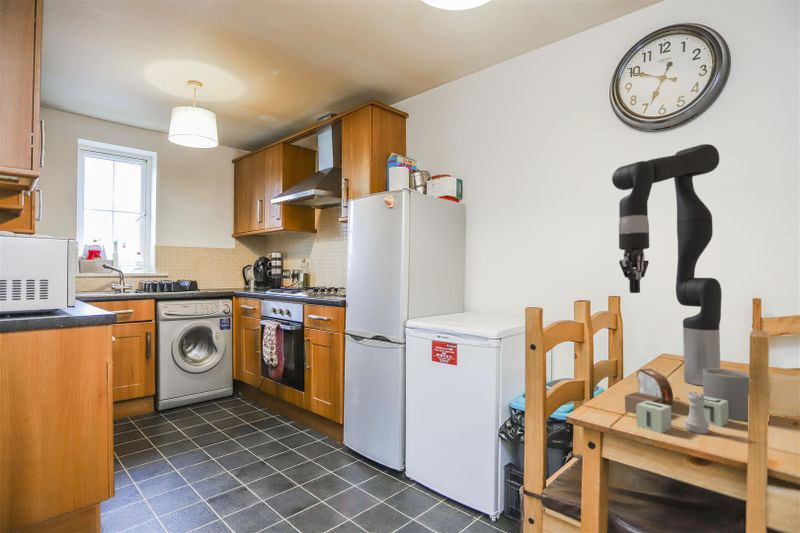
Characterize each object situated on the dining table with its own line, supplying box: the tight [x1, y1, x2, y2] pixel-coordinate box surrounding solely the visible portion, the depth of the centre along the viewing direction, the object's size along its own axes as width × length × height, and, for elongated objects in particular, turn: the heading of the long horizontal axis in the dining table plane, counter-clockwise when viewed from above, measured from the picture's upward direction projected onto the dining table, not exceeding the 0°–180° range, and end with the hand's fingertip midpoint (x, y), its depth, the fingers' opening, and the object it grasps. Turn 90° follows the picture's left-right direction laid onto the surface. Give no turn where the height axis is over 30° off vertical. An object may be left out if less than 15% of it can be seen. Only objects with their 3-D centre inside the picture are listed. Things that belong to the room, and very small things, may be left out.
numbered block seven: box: [703, 396, 730, 428], centre depth 93 cm, size 5×5×5 cm
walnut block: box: [624, 391, 663, 414], centre depth 99 cm, size 6×6×4 cm
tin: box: [636, 368, 674, 407], centre depth 106 cm, size 15×3×8 cm, turn 171°
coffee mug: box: [702, 367, 750, 422], centre depth 99 cm, size 13×10×10 cm
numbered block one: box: [636, 401, 672, 434], centre depth 89 cm, size 5×5×5 cm
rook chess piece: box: [684, 391, 711, 435], centre depth 87 cm, size 4×4×8 cm
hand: (634, 292), depth 114 cm, fingers closed
